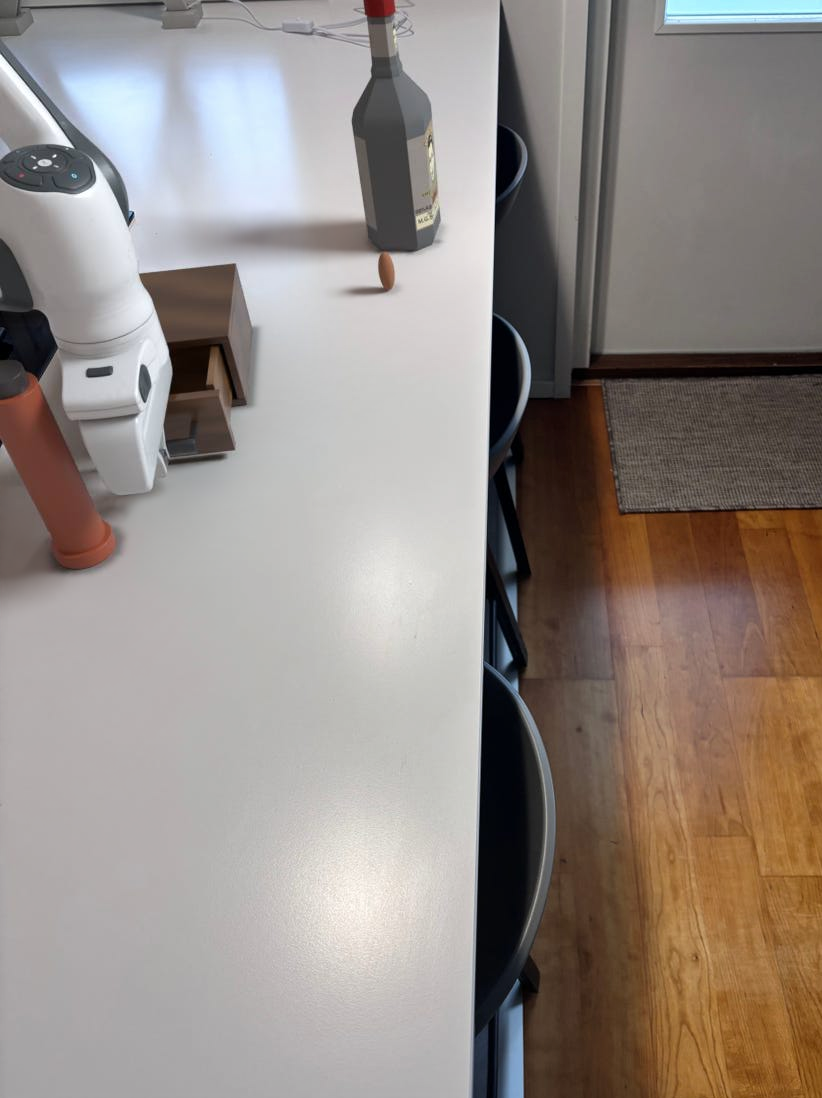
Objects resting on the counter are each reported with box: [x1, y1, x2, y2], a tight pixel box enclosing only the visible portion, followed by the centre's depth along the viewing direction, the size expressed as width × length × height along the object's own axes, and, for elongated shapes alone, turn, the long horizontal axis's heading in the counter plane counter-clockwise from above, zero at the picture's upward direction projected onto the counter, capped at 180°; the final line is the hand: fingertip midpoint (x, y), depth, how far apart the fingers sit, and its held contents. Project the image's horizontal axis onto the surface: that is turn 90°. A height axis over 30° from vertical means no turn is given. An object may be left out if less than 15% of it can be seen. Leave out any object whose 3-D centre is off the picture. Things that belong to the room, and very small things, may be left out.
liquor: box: [350, 0, 442, 252], centre depth 124 cm, size 9×9×30 cm
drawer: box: [163, 344, 237, 459], centre depth 104 cm, size 19×12×7 cm, turn 6°
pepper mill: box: [0, 359, 117, 570], centre depth 89 cm, size 6×6×20 cm
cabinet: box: [139, 262, 254, 407], centre depth 112 cm, size 16×14×9 cm
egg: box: [377, 251, 396, 291], centre depth 124 cm, size 2×2×5 cm
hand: (160, 469), depth 97 cm, fingers closed
